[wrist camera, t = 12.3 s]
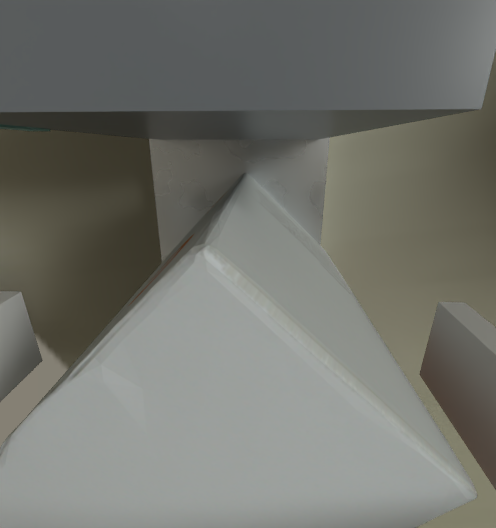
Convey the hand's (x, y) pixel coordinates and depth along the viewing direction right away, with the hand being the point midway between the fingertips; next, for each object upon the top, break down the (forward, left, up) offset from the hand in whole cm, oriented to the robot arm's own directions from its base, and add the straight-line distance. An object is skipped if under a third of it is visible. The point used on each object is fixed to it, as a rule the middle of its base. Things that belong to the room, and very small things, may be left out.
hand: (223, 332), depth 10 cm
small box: (0, 0, -8) cm, 8 cm away
